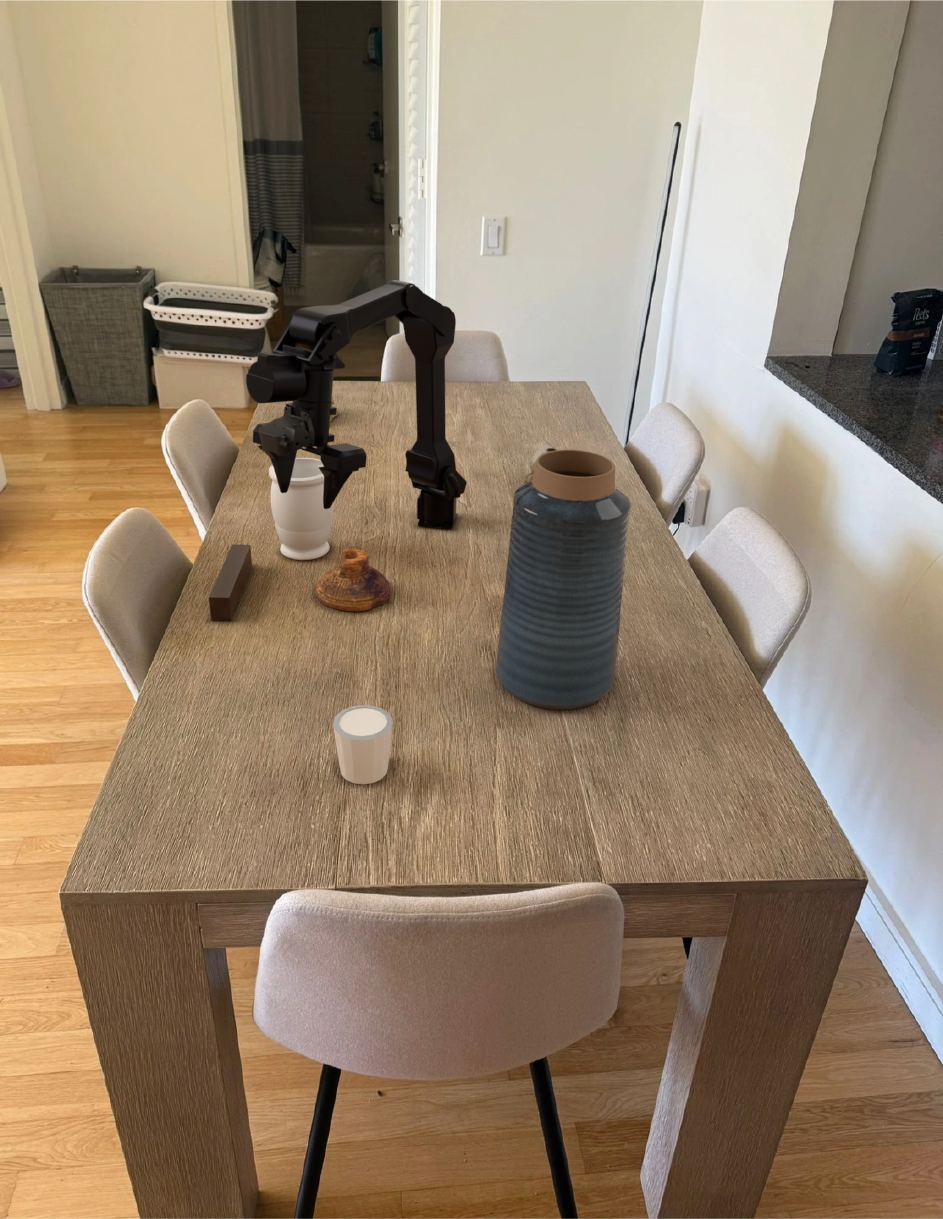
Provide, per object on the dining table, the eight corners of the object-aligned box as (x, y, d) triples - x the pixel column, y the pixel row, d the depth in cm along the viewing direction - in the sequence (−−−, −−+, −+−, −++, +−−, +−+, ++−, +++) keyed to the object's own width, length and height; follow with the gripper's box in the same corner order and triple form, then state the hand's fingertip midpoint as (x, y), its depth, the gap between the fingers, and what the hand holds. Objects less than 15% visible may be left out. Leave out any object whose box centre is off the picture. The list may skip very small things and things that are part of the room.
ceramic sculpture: (574, 435, 193) (583, 465, 181) (570, 473, 198) (579, 506, 185) (522, 434, 193) (528, 464, 180) (519, 473, 198) (525, 505, 185)
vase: (534, 725, 121) (553, 497, 106) (474, 662, 134) (484, 449, 118) (637, 695, 128) (670, 476, 113) (572, 638, 141) (593, 434, 125)
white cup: (336, 751, 115) (334, 704, 112) (392, 750, 116) (392, 703, 112) (333, 788, 109) (331, 740, 106) (393, 787, 110) (393, 738, 106)
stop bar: (252, 566, 157) (250, 544, 155) (231, 621, 141) (229, 597, 139) (234, 566, 157) (232, 544, 155) (211, 620, 141) (208, 597, 139)
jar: (323, 567, 157) (319, 483, 150) (264, 559, 159) (258, 476, 151) (343, 541, 166) (341, 460, 159) (287, 534, 168) (282, 453, 160)
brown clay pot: (380, 617, 144) (379, 574, 140) (305, 607, 146) (302, 564, 142) (400, 582, 154) (400, 542, 150) (329, 573, 156) (328, 533, 152)
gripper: (226, 389, 138) (223, 492, 144) (319, 417, 129) (311, 526, 134) (282, 384, 147) (277, 482, 152) (373, 411, 137) (363, 513, 143)
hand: (305, 500), depth 145 cm, fingers open, 9 cm apart
